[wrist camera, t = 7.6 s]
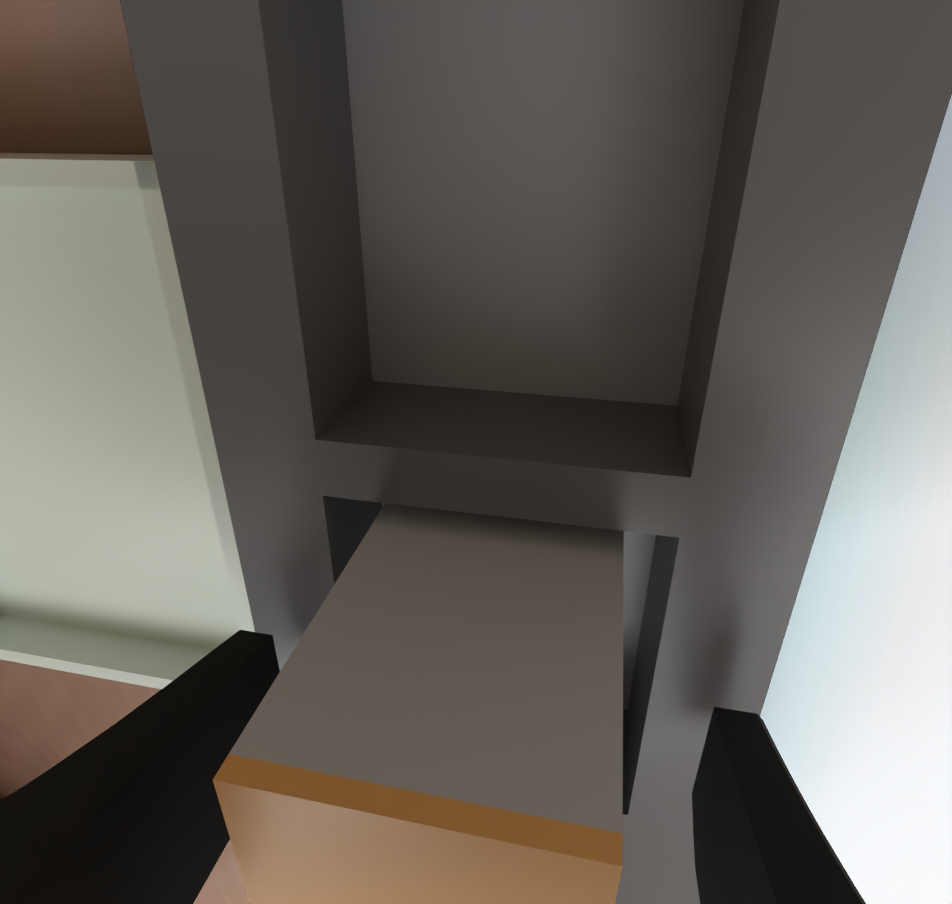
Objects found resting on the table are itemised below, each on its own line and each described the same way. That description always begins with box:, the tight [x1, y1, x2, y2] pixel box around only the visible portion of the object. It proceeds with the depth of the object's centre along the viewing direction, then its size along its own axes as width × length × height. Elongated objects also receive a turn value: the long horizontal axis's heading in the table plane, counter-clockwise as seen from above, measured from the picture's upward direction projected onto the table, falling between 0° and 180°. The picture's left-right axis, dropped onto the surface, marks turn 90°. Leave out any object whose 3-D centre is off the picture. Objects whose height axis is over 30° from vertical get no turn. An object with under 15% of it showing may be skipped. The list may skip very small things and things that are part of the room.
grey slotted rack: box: [120, 0, 952, 904], centre depth 12 cm, size 9×24×3 cm, turn 0°
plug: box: [213, 503, 624, 904], centre depth 10 cm, size 4×5×7 cm
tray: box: [0, 153, 255, 689], centre depth 14 cm, size 9×12×2 cm
